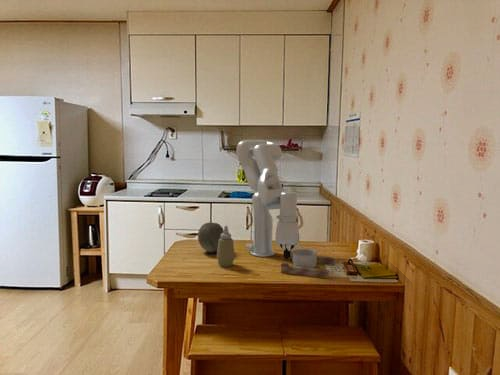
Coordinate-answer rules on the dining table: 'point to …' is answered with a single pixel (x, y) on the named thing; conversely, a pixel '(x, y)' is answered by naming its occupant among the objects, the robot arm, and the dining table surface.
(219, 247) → the squeeze bottle
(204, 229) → the cantaloupe
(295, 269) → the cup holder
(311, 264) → the teacup
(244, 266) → the dining table surface
